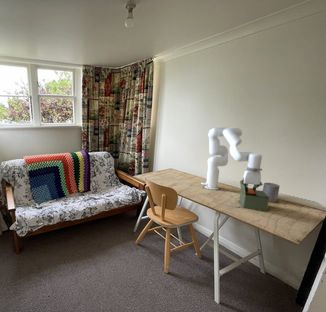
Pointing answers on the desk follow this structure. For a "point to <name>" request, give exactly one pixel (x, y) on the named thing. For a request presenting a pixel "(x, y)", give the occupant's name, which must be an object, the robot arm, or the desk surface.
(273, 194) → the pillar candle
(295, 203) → the desk surface
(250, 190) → the packet
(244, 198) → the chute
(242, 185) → the flap
